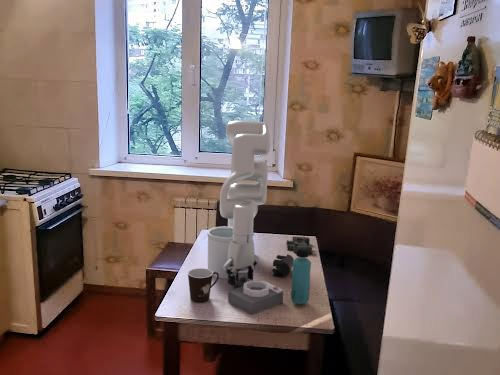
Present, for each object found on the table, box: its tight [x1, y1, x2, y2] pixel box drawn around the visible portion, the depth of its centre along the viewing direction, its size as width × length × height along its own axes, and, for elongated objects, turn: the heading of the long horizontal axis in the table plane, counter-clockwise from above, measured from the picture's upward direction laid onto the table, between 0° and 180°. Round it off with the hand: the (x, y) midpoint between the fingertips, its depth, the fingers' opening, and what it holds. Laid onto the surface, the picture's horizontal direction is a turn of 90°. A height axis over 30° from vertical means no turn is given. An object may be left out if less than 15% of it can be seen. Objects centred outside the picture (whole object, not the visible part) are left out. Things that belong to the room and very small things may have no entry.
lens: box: [233, 267, 249, 289], centre depth 168 cm, size 5×5×8 cm
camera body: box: [227, 278, 285, 315], centre depth 157 cm, size 12×15×6 cm
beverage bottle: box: [290, 248, 312, 305], centre depth 155 cm, size 6×7×20 cm
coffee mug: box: [187, 267, 220, 304], centre depth 157 cm, size 12×9×10 cm
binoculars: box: [286, 236, 313, 255], centre depth 215 cm, size 11×16×6 cm
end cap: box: [272, 253, 295, 278], centre depth 184 cm, size 10×7×7 cm
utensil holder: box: [206, 225, 234, 279], centre depth 180 cm, size 15×15×18 cm
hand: (240, 281), depth 169 cm, fingers open, 8 cm apart
